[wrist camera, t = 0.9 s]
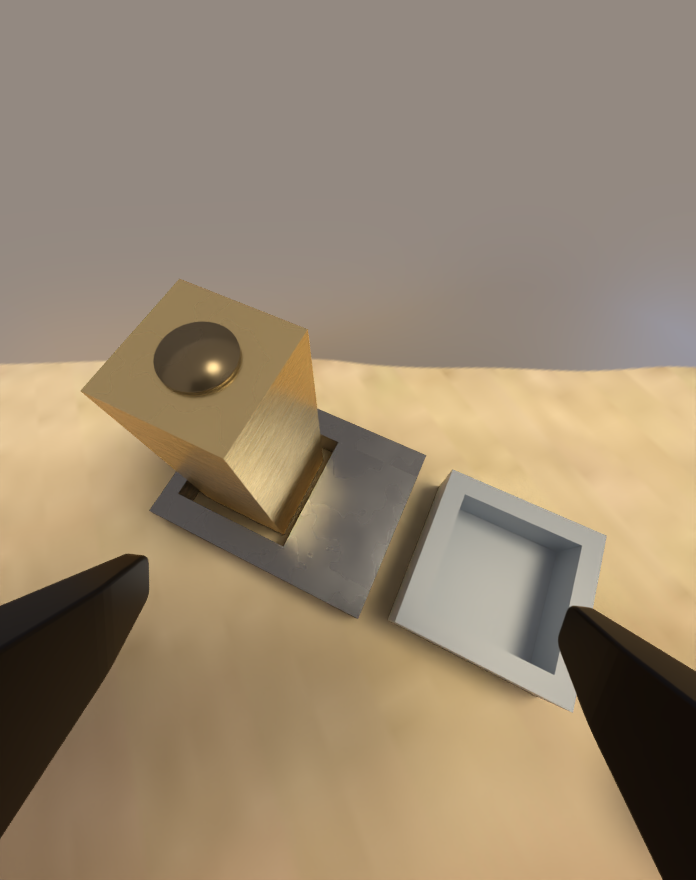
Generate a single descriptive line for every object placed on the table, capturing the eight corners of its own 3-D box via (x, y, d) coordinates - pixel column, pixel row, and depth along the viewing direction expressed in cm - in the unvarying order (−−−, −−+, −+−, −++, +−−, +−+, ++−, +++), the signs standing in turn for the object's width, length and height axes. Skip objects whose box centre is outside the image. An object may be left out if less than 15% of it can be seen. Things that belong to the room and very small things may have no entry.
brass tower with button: (283, 534, 22) (221, 456, 10) (208, 497, 22) (76, 387, 11) (323, 460, 23) (307, 325, 12) (252, 428, 24) (177, 274, 13)
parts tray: (538, 697, 19) (572, 712, 16) (387, 620, 20) (394, 621, 17) (572, 544, 22) (606, 535, 19) (439, 486, 23) (452, 469, 20)
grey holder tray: (419, 467, 23) (426, 455, 21) (356, 618, 20) (357, 618, 18) (249, 393, 25) (242, 376, 23) (165, 519, 22) (149, 510, 20)
